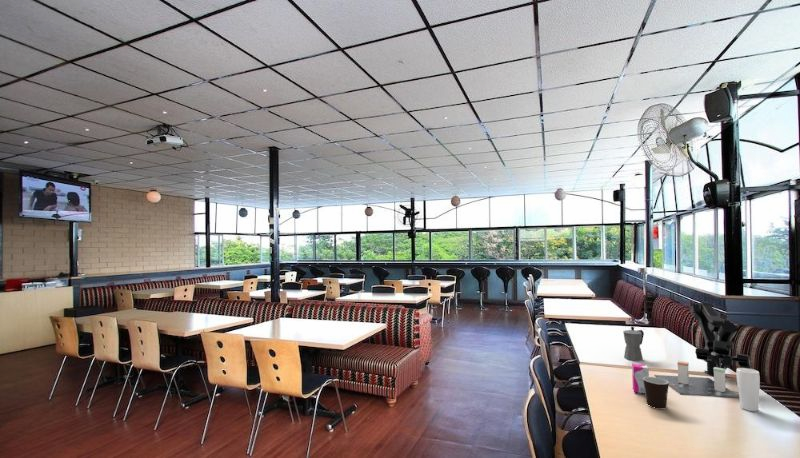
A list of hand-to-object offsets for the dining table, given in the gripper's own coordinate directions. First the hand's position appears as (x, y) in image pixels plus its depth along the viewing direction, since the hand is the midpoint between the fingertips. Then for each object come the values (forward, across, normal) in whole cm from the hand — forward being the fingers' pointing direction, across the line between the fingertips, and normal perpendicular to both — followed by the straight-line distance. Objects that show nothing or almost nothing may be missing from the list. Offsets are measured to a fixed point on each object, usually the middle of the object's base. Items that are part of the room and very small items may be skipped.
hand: (720, 373), depth 172 cm
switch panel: (+7, -9, +3) cm, 12 cm away
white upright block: (+7, 0, +3) cm, 8 cm away
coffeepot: (-14, -41, +24) cm, 49 cm away
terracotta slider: (+7, -13, +3) cm, 15 cm away
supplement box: (+25, -24, -14) cm, 38 cm away
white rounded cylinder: (+18, +10, -8) cm, 22 cm away
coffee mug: (+33, -16, -22) cm, 43 cm away
